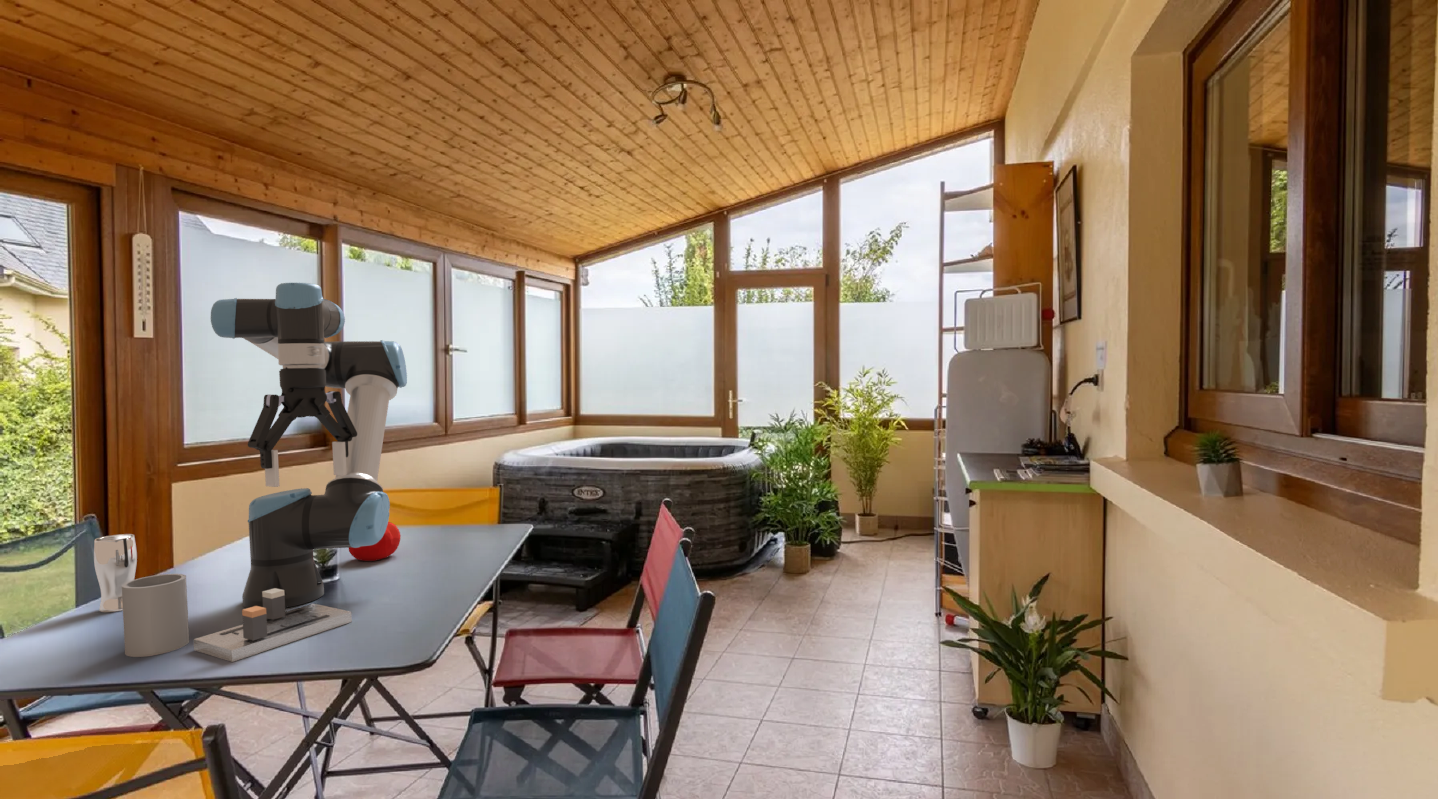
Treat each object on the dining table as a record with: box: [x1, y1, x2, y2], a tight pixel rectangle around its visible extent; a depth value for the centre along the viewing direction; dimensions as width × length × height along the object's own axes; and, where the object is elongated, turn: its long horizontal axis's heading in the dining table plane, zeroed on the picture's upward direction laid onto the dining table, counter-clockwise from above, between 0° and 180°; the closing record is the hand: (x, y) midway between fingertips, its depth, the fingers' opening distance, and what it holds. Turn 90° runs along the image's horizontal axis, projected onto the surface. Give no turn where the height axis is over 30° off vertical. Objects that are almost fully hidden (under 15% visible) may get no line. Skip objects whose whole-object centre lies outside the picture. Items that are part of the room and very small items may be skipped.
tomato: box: [348, 521, 402, 562], centre depth 194 cm, size 11×13×10 cm
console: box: [193, 603, 353, 663], centre depth 137 cm, size 12×22×2 cm, turn 151°
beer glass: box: [93, 533, 138, 613], centre depth 155 cm, size 7×7×15 cm
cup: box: [122, 573, 190, 658], centre depth 132 cm, size 9×9×12 cm
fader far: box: [262, 588, 286, 620], centre depth 141 cm, size 3×2×5 cm
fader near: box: [241, 606, 267, 641], centre depth 130 cm, size 3×2×5 cm
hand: (307, 480), depth 139 cm, fingers open, 13 cm apart
